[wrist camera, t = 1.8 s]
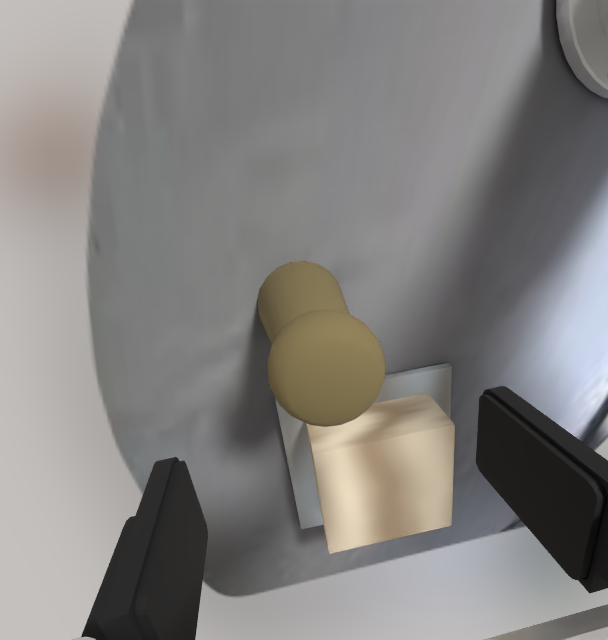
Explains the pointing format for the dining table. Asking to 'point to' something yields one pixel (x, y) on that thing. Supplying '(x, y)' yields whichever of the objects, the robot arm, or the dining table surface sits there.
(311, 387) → the olive brown knobbed peg
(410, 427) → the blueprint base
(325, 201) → the dining table surface
